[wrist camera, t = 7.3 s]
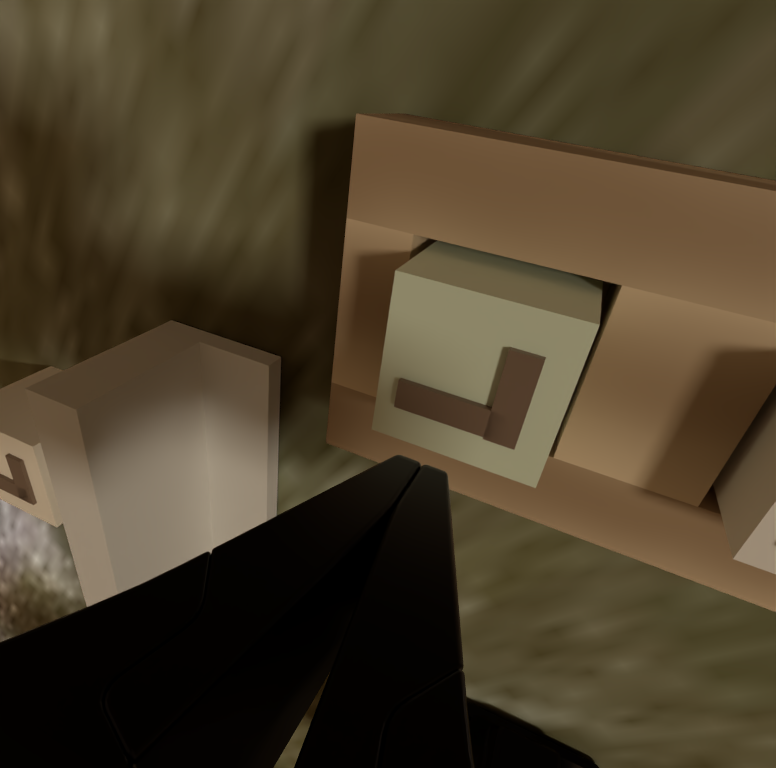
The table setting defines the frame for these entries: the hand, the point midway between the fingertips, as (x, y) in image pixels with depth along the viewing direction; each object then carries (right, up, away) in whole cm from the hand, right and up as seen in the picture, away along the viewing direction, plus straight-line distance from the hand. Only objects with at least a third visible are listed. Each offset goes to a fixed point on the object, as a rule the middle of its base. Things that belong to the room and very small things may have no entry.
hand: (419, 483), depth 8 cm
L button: (+2, +3, +5) cm, 6 cm away
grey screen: (-8, -3, +15) cm, 17 cm away
